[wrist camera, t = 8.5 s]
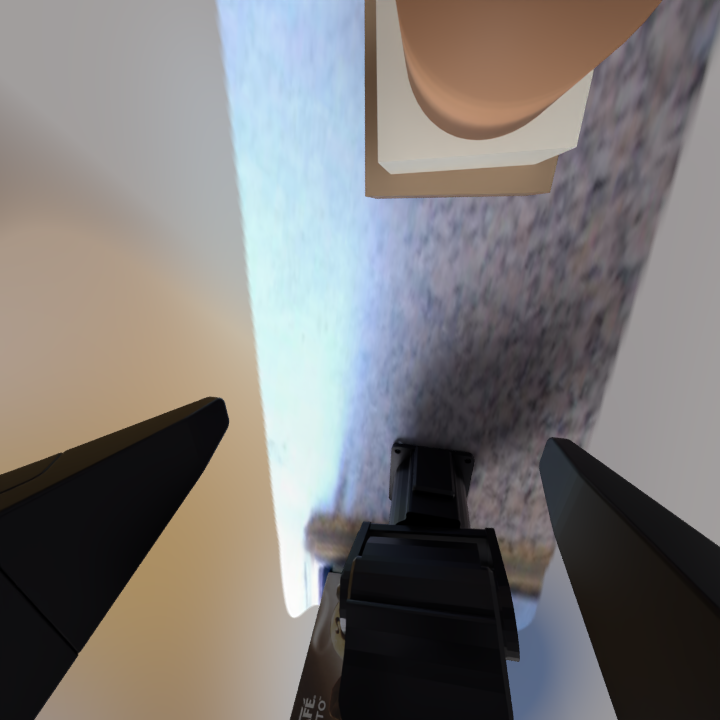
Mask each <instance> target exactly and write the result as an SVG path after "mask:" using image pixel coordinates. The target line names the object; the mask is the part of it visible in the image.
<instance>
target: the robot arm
mask: <svg viewBox="0 0 720 720" xmlns="http://www.w3.org/2000/svg"><path fill="white" fill-rule="evenodd" d="M228 426H229V418H228V414H227V409H226V405H225V402H224V400H223V399H222V398H217V397H206V398H204V399H201V400H199V401H196V402H193V403H191V404H188V405H185V406H183V407H180V408H177V409H175V410H172V411H169V412H167V413H164V414H162V415H159V416H156V417H154V418H151V419H148V420H146V421H143V422H140V423H138V424H135V425H133V426H130V427H127V428H125V429H122V430H119V431H117V432H114V433H112V434H109V435H106V436H103V437H101V438H98V439H96V440H93V441H90V442H88V443H85V444H83V445H80V446H77V447H75V448H72V449H69V450H67V451H65V452H64V453H58V454H56V455H53V456H50V457H48V458H45V459H43V460H40V461H37V462H34V463H32V464H29V465H26V466H23V467H21V468H18V469H15V470H13V471H10V472H7V473H4V474H1V475H0V720H34V719H35V718H36V717H37V715H38V713H39V712H40V711H41V709H42V708H43V706H44V705H45V703H46V702H47V700H48V699H49V698H50V696H51V695H52V693H53V692H54V690H55V689H56V687H57V686H58V684H59V683H60V681H61V680H62V678H63V677H64V676H65V674H66V673H67V671H68V669H69V668H70V667H71V665H72V664H73V662H74V661H75V659H76V658H77V656H78V653H79V652H80V651H81V650H82V649H83V647H84V646H85V644H86V643H87V641H88V640H89V639H90V637H91V636H92V634H93V633H94V631H95V630H96V628H97V627H98V625H99V624H100V622H101V621H102V620H103V618H104V617H105V615H106V614H107V612H108V611H109V609H110V608H111V606H112V605H113V603H114V602H115V600H116V599H117V597H118V596H119V594H120V593H121V592H122V590H123V589H124V587H125V586H126V584H127V583H128V582H129V580H130V578H131V577H132V576H133V574H134V573H135V571H136V570H137V568H138V567H139V565H140V564H141V563H142V561H143V559H144V558H145V557H146V555H147V554H148V552H149V551H150V549H151V548H152V546H153V545H154V544H155V542H156V541H157V539H158V537H159V536H160V535H161V533H162V532H163V530H164V529H165V527H166V526H167V524H168V523H169V522H170V520H171V519H172V517H173V516H174V514H175V513H176V511H177V510H178V508H179V507H180V505H181V504H182V503H183V501H184V500H185V498H186V497H187V495H188V494H189V492H190V491H191V489H192V488H193V486H194V485H195V484H196V482H197V481H198V479H199V478H200V476H201V475H202V473H203V471H204V470H205V468H206V466H207V465H208V463H209V461H210V459H211V457H212V456H213V454H214V452H215V450H216V448H217V447H218V445H219V443H220V441H221V439H222V438H223V436H224V434H225V432H226V430H227V428H228ZM396 449H399V450H396ZM466 459H469V460H466ZM474 462H475V461H474V456H473V455H472V454H471V453H466V452H459V451H452V450H444V449H437V448H429V447H422V446H414V445H407V444H399V443H396V444H394V445H393V446H392V450H391V469H390V488H389V499H390V500H391V501H392V502H391V509H390V517H389V524H374V523H371V522H363V523H362V526H361V528H360V531H359V532H358V534H357V536H356V539H355V541H354V544H353V546H352V549H351V551H350V554H349V556H348V559H347V562H346V564H345V567H344V569H343V572H342V574H341V577H340V584H339V585H338V587H337V592H336V596H337V599H338V601H339V616H340V625H341V629H342V632H343V633H344V634H345V647H344V656H343V665H342V673H341V681H340V689H339V697H338V703H339V709H340V714H341V719H342V720H513V710H512V702H511V695H510V688H509V680H508V673H507V665H506V660H511V661H517V662H519V660H520V655H519V654H520V652H519V641H518V634H517V626H516V619H515V613H514V607H513V602H512V597H511V592H510V587H509V583H508V579H507V575H506V571H505V568H504V564H503V560H502V556H501V553H500V549H499V545H498V542H497V538H496V534H495V530H494V528H485V529H470V521H469V514H468V506H467V494H468V490H469V485H470V481H471V476H472V471H473V467H474ZM539 469H540V475H541V479H542V484H543V488H544V493H545V497H546V502H547V506H548V511H549V515H550V520H551V524H552V528H553V531H554V535H555V538H556V541H557V544H558V547H559V550H560V552H561V556H562V559H563V561H564V564H565V567H566V570H567V573H568V576H569V579H570V582H571V585H572V588H573V591H574V594H575V596H576V599H577V602H578V605H579V608H580V611H581V614H582V617H583V620H584V623H585V626H586V629H587V632H588V634H589V637H590V640H591V643H592V646H593V649H594V652H595V655H596V658H597V661H598V663H599V667H600V669H601V672H602V675H603V678H604V681H605V684H606V687H607V690H608V692H609V696H610V699H611V702H612V704H613V707H614V710H615V713H616V716H617V719H618V720H720V547H719V546H718V545H717V544H715V543H714V542H712V541H711V540H710V539H708V538H707V537H705V536H704V535H703V534H701V533H700V532H698V531H697V530H695V529H694V528H693V527H691V526H690V525H688V524H687V523H686V522H684V521H683V520H681V519H680V518H679V517H677V516H676V515H674V514H673V513H672V512H670V511H669V510H667V509H666V508H665V507H663V506H662V505H660V504H659V503H658V502H656V501H655V500H653V499H652V498H650V497H649V496H648V495H646V494H645V493H644V492H642V491H641V490H639V489H638V488H637V487H635V486H634V485H632V484H631V483H630V482H628V481H627V480H625V479H624V478H623V477H621V476H620V475H618V474H617V473H616V472H614V471H613V470H611V469H610V468H609V467H607V466H606V465H604V464H603V463H602V462H600V461H599V460H597V459H596V458H594V457H593V456H592V455H590V454H589V453H587V452H586V451H585V450H583V449H582V448H580V447H579V446H578V445H576V444H575V443H573V442H572V441H571V440H569V439H564V438H555V437H551V438H549V439H548V440H547V443H546V445H545V448H544V451H543V454H542V457H541V460H540V464H539Z"/></svg>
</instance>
